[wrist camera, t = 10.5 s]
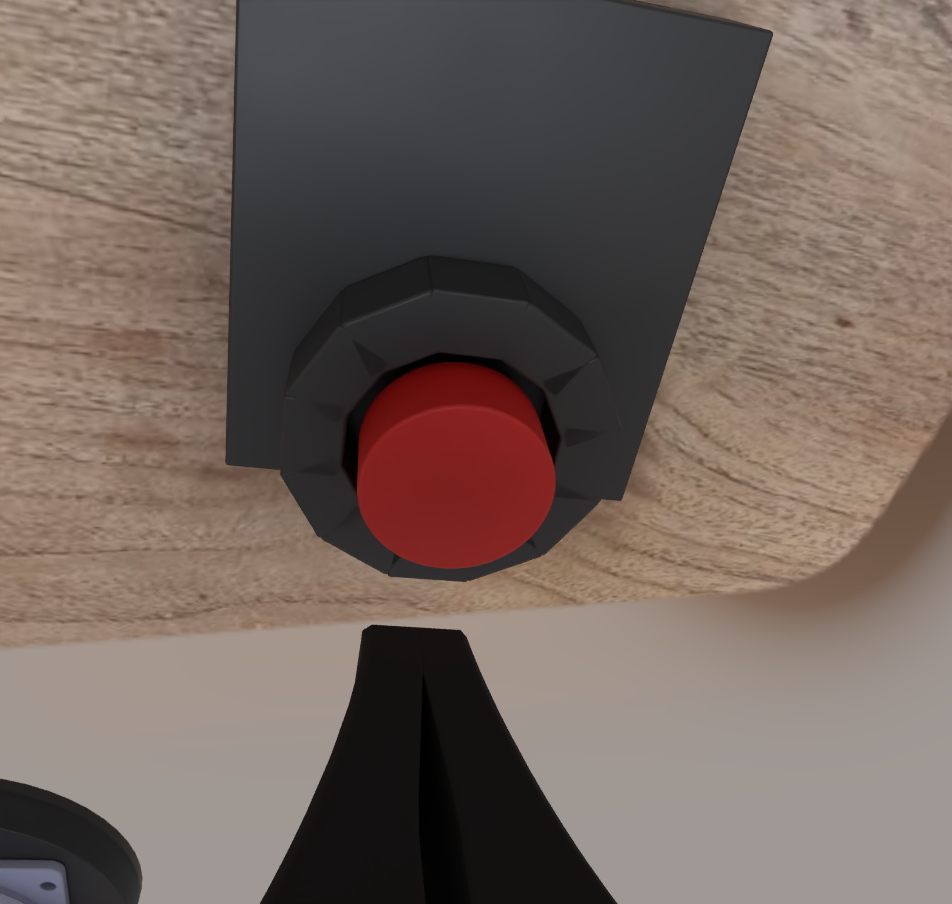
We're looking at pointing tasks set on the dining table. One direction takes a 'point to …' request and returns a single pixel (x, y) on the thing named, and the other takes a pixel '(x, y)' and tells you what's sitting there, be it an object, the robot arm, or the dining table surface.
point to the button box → (468, 225)
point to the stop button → (453, 466)
